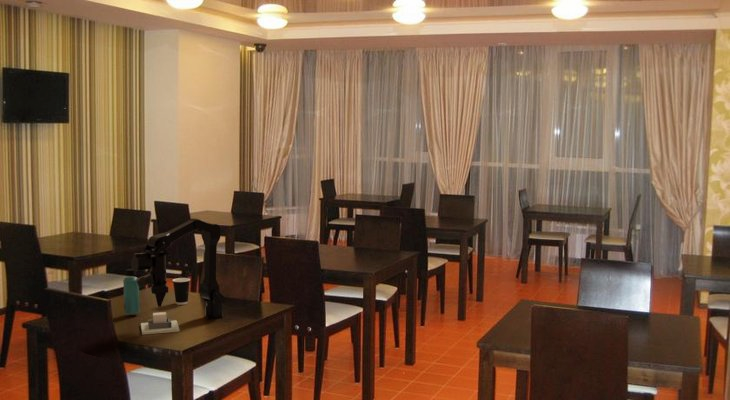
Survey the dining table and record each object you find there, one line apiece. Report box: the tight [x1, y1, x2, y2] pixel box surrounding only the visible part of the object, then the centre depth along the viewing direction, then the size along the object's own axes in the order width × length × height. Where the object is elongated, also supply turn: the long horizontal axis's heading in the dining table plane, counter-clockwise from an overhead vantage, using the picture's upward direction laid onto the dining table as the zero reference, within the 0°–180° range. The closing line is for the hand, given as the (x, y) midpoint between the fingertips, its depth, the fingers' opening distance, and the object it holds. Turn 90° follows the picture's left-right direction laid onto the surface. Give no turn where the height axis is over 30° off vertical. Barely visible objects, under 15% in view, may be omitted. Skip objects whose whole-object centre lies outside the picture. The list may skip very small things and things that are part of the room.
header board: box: [140, 317, 180, 336], centre depth 299 cm, size 14×14×3 cm
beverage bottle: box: [122, 268, 141, 315], centre depth 318 cm, size 6×7×20 cm
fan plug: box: [150, 311, 167, 323], centre depth 298 cm, size 6×4×5 cm, turn 108°
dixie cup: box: [171, 277, 191, 306], centre depth 341 cm, size 8×8×11 cm
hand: (159, 306), depth 298 cm, fingers closed
